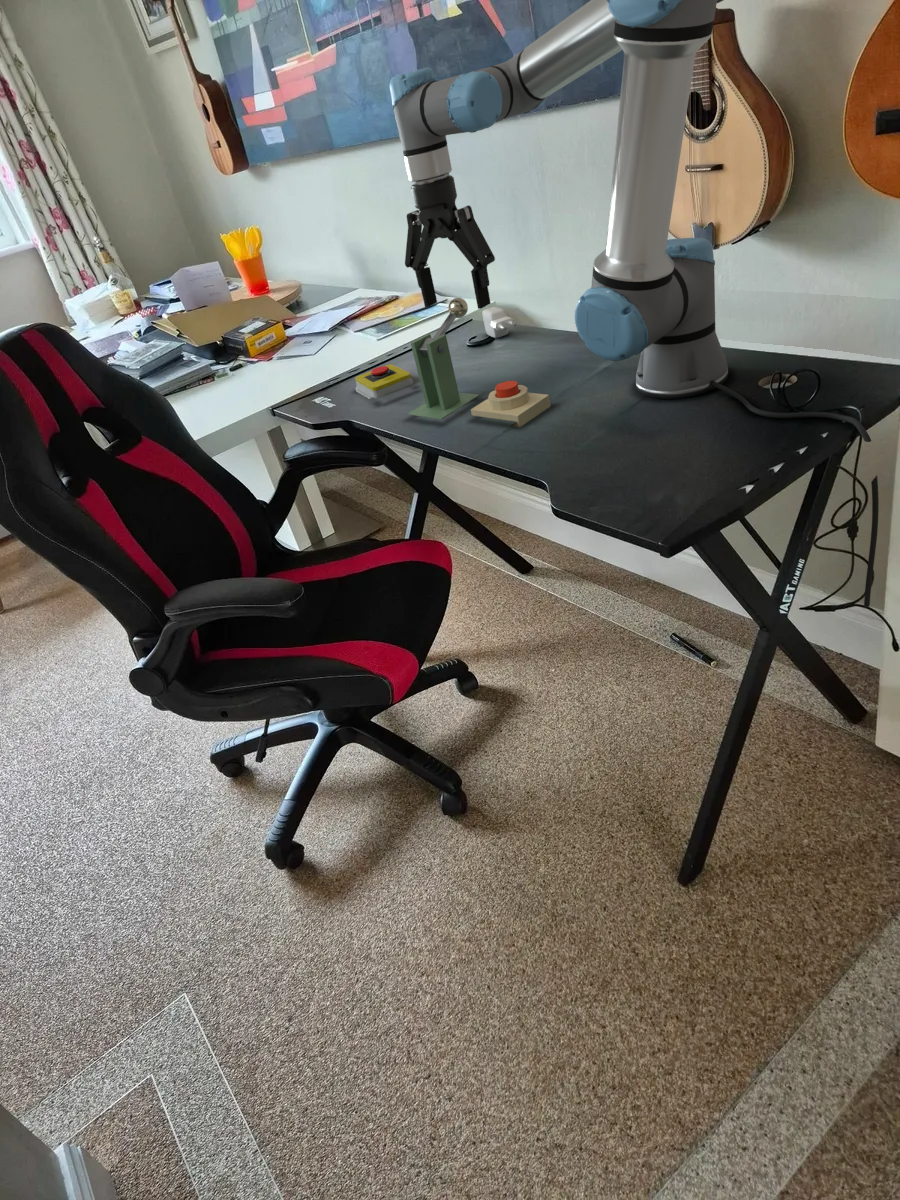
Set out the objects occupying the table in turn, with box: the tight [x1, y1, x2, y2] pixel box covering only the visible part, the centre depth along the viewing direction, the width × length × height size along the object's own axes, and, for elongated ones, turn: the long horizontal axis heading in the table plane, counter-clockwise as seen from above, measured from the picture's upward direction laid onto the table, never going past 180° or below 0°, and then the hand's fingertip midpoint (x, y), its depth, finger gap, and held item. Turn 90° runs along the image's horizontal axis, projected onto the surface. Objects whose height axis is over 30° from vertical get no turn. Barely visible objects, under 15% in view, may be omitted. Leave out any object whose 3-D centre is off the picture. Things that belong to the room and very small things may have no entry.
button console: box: [470, 384, 552, 428], centre depth 139 cm, size 11×9×4 cm
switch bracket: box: [407, 333, 480, 420], centre depth 145 cm, size 11×9×14 cm
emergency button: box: [355, 363, 414, 400], centre depth 164 cm, size 9×4×15 cm
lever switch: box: [419, 297, 469, 359], centre depth 143 cm, size 13×4×4 cm, turn 137°
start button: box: [494, 380, 519, 398], centre depth 137 cm, size 4×4×2 cm
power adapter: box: [481, 306, 517, 339], centre depth 176 cm, size 11×5×6 cm, turn 22°
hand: (457, 305), depth 144 cm, fingers open, 13 cm apart
